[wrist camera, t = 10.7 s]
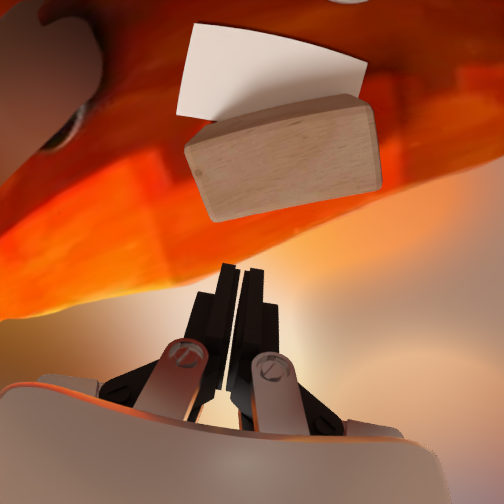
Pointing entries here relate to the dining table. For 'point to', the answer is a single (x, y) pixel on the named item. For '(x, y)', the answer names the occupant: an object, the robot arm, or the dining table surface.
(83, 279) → the dining table surface
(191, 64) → the white mat
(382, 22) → the dining table surface
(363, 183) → the wooden block
